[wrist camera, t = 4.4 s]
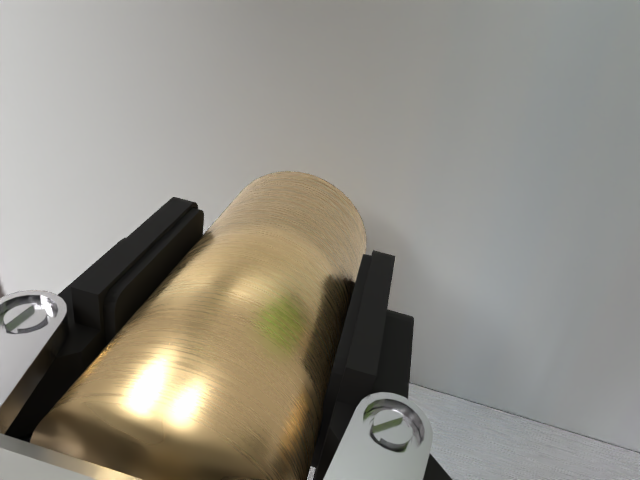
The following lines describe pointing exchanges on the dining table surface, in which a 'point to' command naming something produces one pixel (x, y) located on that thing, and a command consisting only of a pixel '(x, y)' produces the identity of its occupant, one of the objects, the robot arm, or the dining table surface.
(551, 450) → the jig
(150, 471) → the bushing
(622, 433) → the dining table surface
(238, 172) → the dining table surface
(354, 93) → the dining table surface
